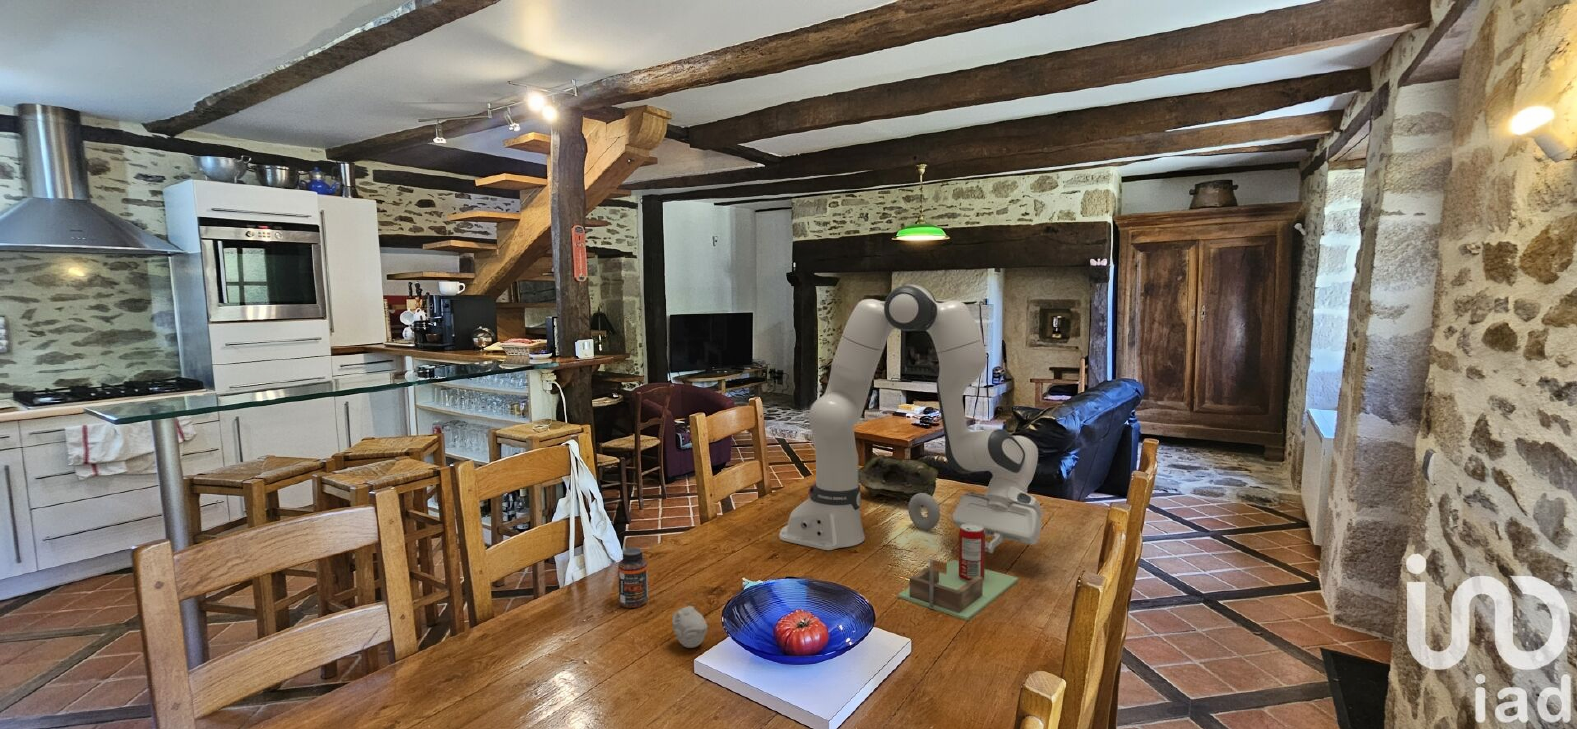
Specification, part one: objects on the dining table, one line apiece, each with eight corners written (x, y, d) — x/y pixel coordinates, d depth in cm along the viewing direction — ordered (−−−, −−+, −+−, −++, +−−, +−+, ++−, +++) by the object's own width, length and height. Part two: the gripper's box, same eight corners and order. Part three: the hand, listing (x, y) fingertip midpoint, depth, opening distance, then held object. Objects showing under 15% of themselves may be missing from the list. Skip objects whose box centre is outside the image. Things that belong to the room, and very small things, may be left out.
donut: (942, 532, 180) (943, 496, 179) (934, 535, 178) (935, 498, 177) (913, 523, 188) (913, 488, 187) (905, 526, 185) (905, 490, 184)
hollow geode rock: (937, 526, 199) (959, 483, 204) (918, 503, 192) (942, 460, 197) (867, 501, 220) (889, 463, 225) (847, 480, 213) (871, 442, 218)
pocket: (934, 580, 149) (934, 537, 148) (982, 595, 141) (983, 549, 140) (906, 598, 140) (906, 552, 139) (956, 615, 133) (956, 566, 132)
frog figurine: (690, 633, 129) (688, 598, 128) (715, 645, 124) (714, 608, 124) (665, 646, 124) (664, 610, 123) (691, 659, 120) (690, 621, 119)
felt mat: (952, 562, 160) (952, 559, 160) (1018, 580, 150) (1018, 578, 150) (897, 597, 143) (897, 594, 142) (967, 620, 132) (967, 617, 132)
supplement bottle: (623, 611, 138) (620, 558, 137) (616, 600, 143) (614, 548, 142) (651, 605, 140) (649, 553, 139) (644, 594, 146) (642, 543, 145)
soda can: (975, 571, 153) (975, 520, 152) (989, 581, 148) (990, 528, 147) (953, 575, 152) (954, 523, 150) (967, 584, 147) (968, 531, 145)
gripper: (959, 484, 166) (939, 533, 159) (1042, 500, 152) (1024, 555, 146) (968, 497, 169) (948, 546, 163) (1049, 514, 156) (1031, 568, 150)
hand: (985, 550), depth 154 cm, fingers closed
